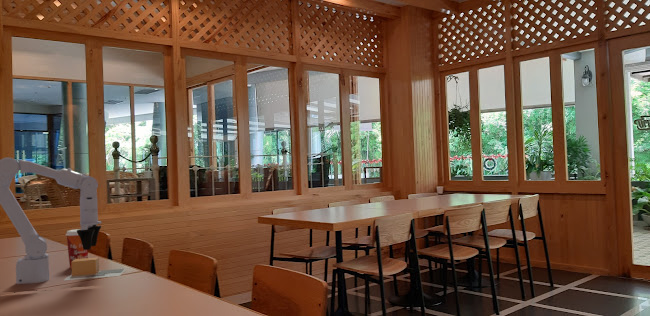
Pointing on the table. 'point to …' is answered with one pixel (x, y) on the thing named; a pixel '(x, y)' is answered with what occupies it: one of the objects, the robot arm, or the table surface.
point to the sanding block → (85, 266)
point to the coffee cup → (75, 246)
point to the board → (98, 274)
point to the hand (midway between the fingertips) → (89, 247)
